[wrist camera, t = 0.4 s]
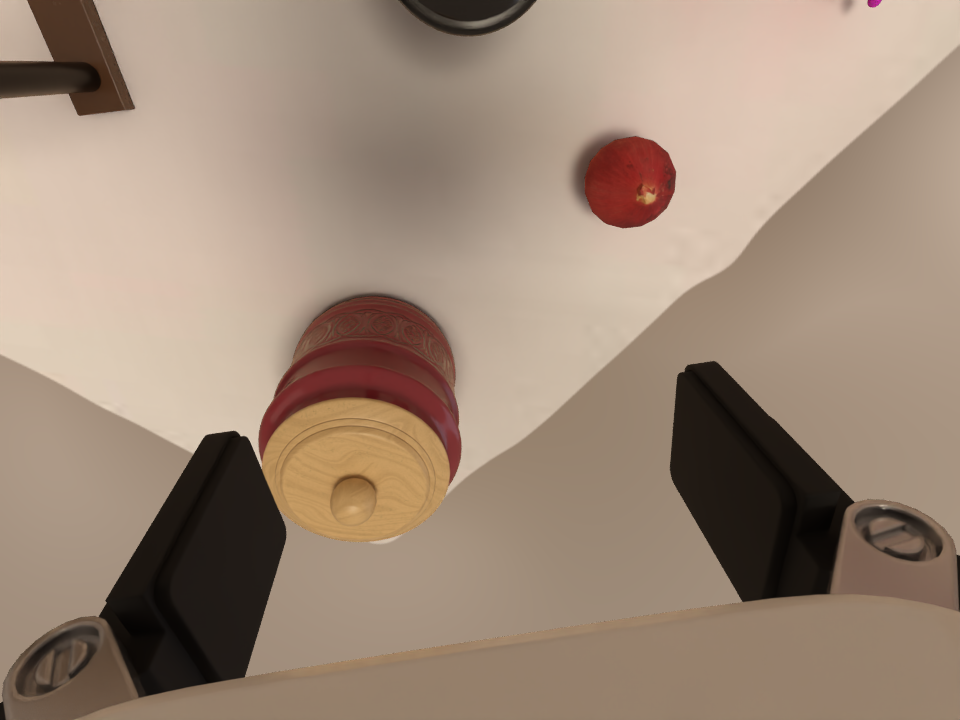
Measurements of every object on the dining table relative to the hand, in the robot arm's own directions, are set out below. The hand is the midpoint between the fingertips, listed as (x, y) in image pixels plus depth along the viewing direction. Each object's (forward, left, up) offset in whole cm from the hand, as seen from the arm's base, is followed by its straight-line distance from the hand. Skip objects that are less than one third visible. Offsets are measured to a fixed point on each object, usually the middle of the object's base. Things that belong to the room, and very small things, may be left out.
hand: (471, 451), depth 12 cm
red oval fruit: (+1, +12, -31) cm, 33 cm away
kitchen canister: (+14, -8, -31) cm, 34 cm away
